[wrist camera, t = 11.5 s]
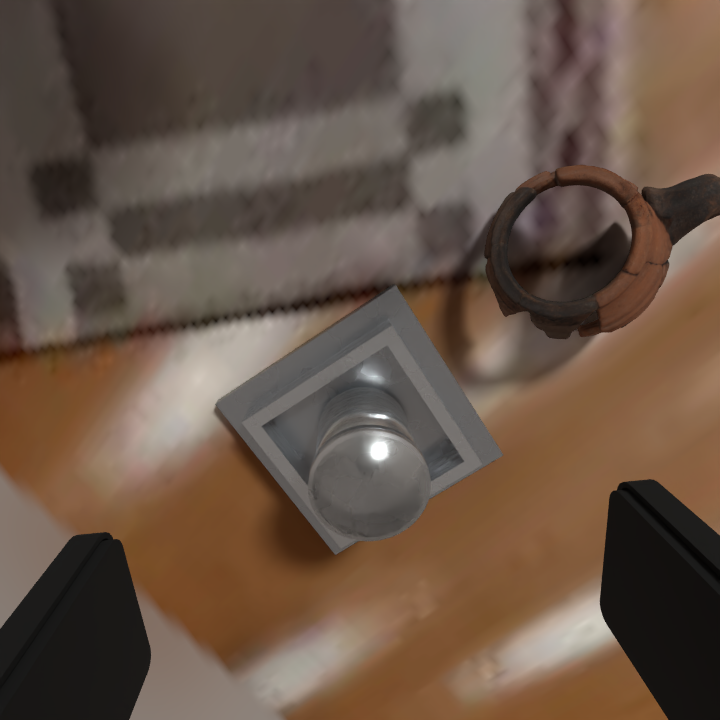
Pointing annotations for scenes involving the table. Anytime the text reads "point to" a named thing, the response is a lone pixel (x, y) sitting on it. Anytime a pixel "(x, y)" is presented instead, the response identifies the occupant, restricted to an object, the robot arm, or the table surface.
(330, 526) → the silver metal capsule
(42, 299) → the table surface
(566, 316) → the pottery mug
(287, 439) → the duct collar
